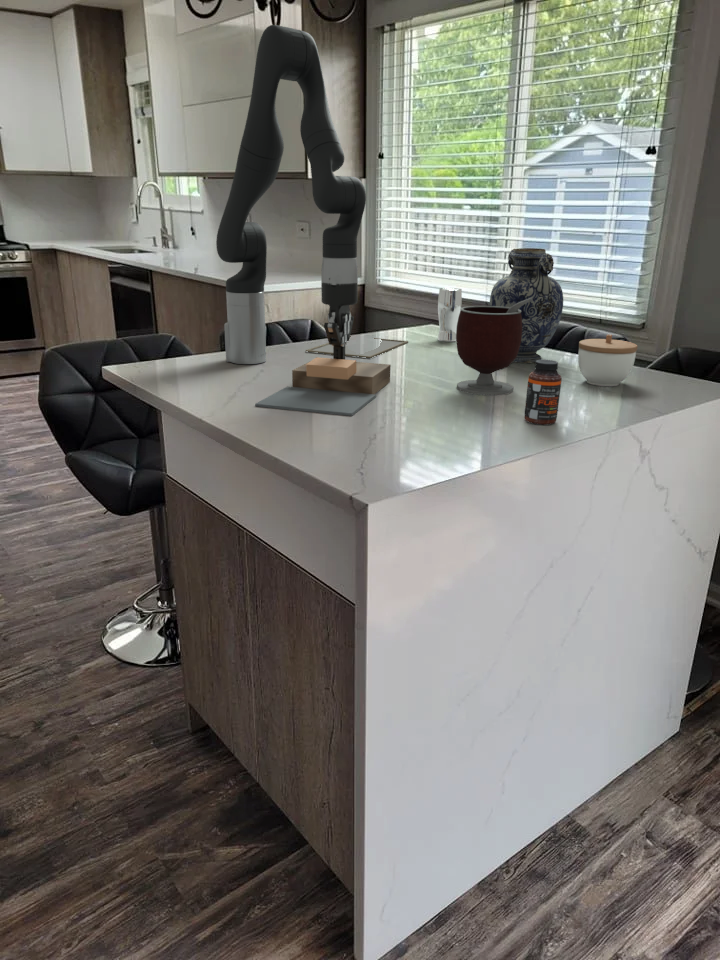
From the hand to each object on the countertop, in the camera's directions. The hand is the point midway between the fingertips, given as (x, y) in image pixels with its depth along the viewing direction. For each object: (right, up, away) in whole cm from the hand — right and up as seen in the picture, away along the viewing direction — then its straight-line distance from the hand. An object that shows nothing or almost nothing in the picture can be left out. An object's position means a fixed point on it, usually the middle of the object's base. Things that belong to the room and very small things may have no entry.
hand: (339, 363), depth 157 cm
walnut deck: (+1, -4, +5) cm, 6 cm away
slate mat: (-4, -9, -9) cm, 14 cm away
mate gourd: (+33, -5, +4) cm, 33 cm away
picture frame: (+4, +12, +49) cm, 51 cm away
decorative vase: (+47, +7, +37) cm, 60 cm away
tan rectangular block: (-1, -2, -4) cm, 5 cm away
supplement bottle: (+38, -14, -21) cm, 46 cm away
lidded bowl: (+60, -3, +11) cm, 62 cm away
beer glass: (+31, +17, +63) cm, 72 cm away
